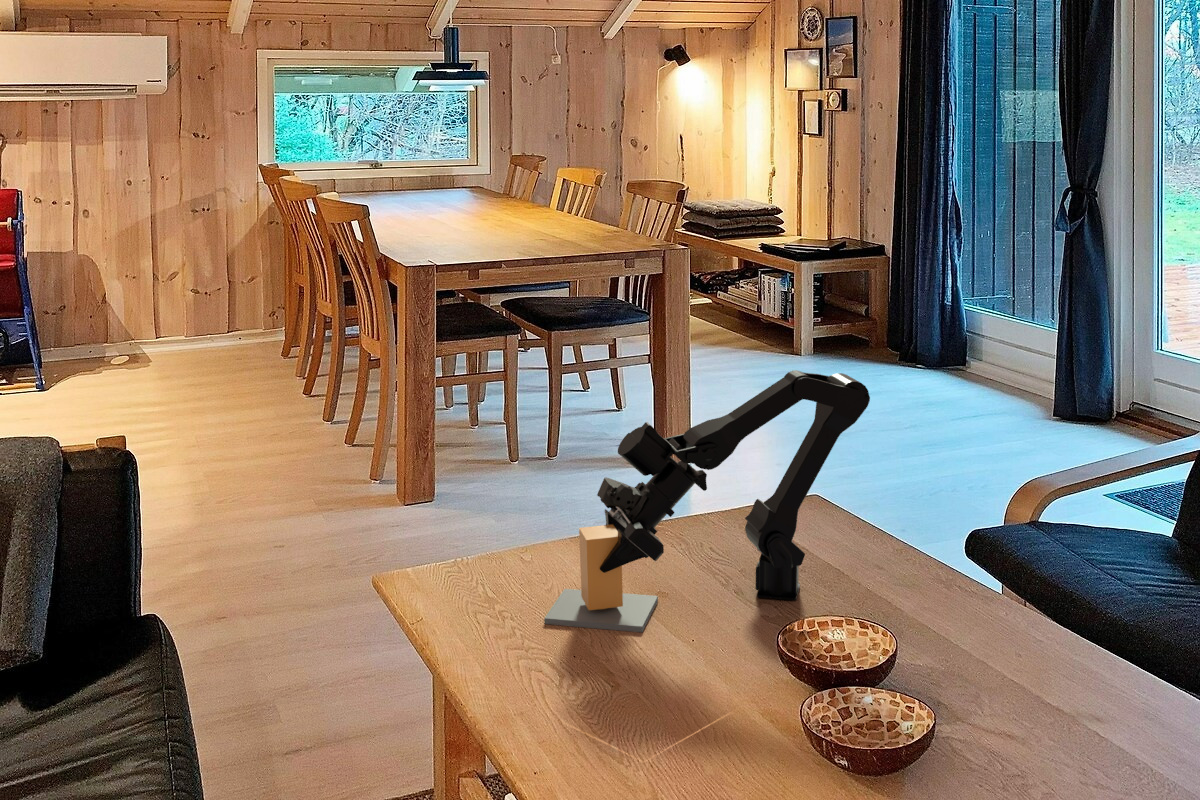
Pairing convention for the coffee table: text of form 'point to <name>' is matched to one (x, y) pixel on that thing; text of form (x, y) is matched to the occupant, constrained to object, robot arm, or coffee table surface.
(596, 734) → the coffee table surface
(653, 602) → the post board
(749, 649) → the coffee table surface
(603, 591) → the tall amber pillar
